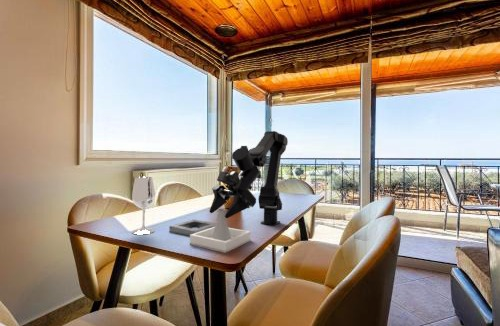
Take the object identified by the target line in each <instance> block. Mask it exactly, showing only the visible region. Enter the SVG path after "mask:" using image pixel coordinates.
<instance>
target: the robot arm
mask: <svg viewBox="0 0 500 326" xmlns="http://www.w3.org/2000/svg"><path fill="white" fill-rule="evenodd" d="M288 144H289V143H288V138H287V136H286V135H285V134H282V133H280V132H278V131H275V130H267V131H264V134H263V136H262V138H261V140H260V141H259V142H258V143H257V144H256V146H255V147H251V148H250V149H249V148H248V146H247V145H241V146H240V147H239V148H236V149H235V150H234V151H233V152H232V154H231V158H232V159H233V161H234V163H235V165H236V167H237V169H238V170H239V171H240V173H239V172H237V171H231V172H229V171H224V170H223V171H222V170H221V171H219V174H218V176H217V179H216V181H218V182H220V183H223V185H222V184H215V185H214V186H212V189H211V190H212V193H213V195H214V196H213V200H212V203H211V206H210V208H209V213H210V214H213V213H214V212H217V209H221V207H222V206H224V205H225V204H227V203H228V201H229V199H230V198H233V201H232V203H231V204H230V205H229V208H228V209H227V210H226V212H225V217H226V219H229V218H231V217H232V216H234V215H236V214H238V213H240V212H242V211H244V210H246V209H250V208H254V207H255V205H256V204H257V201H258V206H259V209H261V210H263V221H261V222H260V224H261V225H262V224H263V225H269V226H276V225H278V224H280V223H281V221H278V211H281V210H283V203H282V199H281V197H280V191H279V189H278V178H279V173H280V166H281V165H280V164H281V157H282V156H283V154H284V153H285V151H286V148H287V146H288ZM268 152H270V153H269V155H270V156H269V161H268V166H267V167H268V168H267V173H266V180H265V184H264V186H261V187H260V192H259V195H258V199H257V198H256V197H255V195H254V194H253V193H252V192H251V190H252V189H253V186H252V185H253V183H254V182H255V181H256V180H257V179H259V180H260V179H261V178H262V175H261V173H262V172H261V170H259V168H263V167H265V165H266V163H267V160H268V158H267V154H268ZM224 184H225V185H224Z"/></svg>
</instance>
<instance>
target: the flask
mask: <svg viewBox="0 0 500 326" xmlns="http://www.w3.org/2000/svg"><path fill="white" fill-rule="evenodd" d="M226 212H227V209H225V208H219V209H217V210H216V213H217V218H216V222H215V223H216V225H215V228H214V231H213V233H212V236H211V238H212V239H217V240H222V241H227V240H229V239H231V234H230V232H229V229H228V228H229V225H228V222H227V218H226V217H225V214H226Z"/></svg>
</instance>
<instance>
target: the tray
mask: <svg viewBox="0 0 500 326" xmlns="http://www.w3.org/2000/svg"><path fill="white" fill-rule="evenodd" d="M214 228H215V227H212V228H209V229H206V230H203V231H200V232H197V233H194V234H191V235H190V236H189V245H191V246H194V247H195V246H196V247H199V248H204V249H206V250H212V251H215V252H219V253H224V254H226V253H228V252H230V251H233V250H235V249H237V248H239V247H241V246H242V245H244V244H246V243H249V242H251V237H252V235H251V233H252V232H251V230H250V231H249V230H243V229H239V228H232V227H228V229H229V232H230V234H231V239H229V240H227V241H222V240H217V239H212V238H211V236H212V233H213V231H214Z"/></svg>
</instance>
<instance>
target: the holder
mask: <svg viewBox="0 0 500 326" xmlns="http://www.w3.org/2000/svg"><path fill="white" fill-rule="evenodd" d="M215 225H216V222H211V221H206V220H205V221H204V220H199V219H192V220H190V219H189V220H186V221H184V222H180V223H175V224H173V225H169V226H168V228H169V231H168V232H170V233H175V234H180V235H184V236H186V237H187V236H189V237H190V235H191V234H194V233H197V232H200V231H203V230H206V229H209V228H212V227H215ZM193 227H197V228H193Z"/></svg>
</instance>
